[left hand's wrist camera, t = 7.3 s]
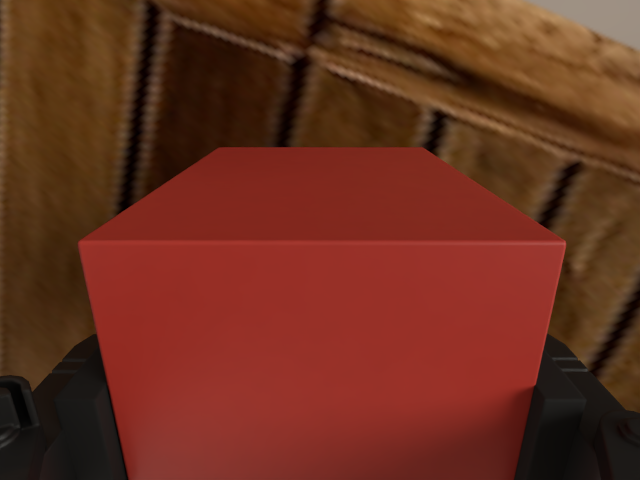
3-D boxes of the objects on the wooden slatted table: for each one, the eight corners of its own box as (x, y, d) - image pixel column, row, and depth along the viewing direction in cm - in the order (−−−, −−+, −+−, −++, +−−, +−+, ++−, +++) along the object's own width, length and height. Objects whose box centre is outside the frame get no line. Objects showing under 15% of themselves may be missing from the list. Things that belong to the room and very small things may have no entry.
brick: (423, 147, 17) (569, 241, 7) (408, 330, 20) (495, 577, 10) (217, 147, 17) (75, 241, 7) (233, 329, 20) (147, 577, 10)
